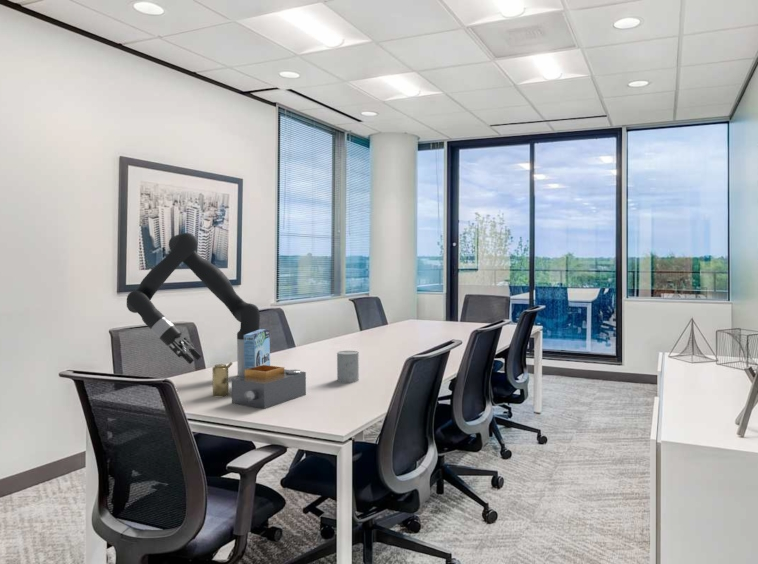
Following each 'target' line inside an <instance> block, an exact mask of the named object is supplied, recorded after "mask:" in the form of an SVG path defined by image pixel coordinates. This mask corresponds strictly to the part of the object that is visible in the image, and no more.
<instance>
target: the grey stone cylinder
mask: <svg viewBox="0 0 758 564" xmlns="http://www.w3.org/2000/svg"><path fill="white" fill-rule="evenodd" d="M359 359H360V358H359V351H356V350H340V351H337V352H336V363H337V364H336V370H337V374H336V375H337V376H336V377H337V380H336V381H337V382H338V383H343V384H344V383H345V384H347V383H349V384H350V383H356V382H359V380H360V379H359V378H360V377H359V376H360V374H359V370H360V369H359V368H360V367H359V366H360V365H359V364H360V363H359Z"/></svg>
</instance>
